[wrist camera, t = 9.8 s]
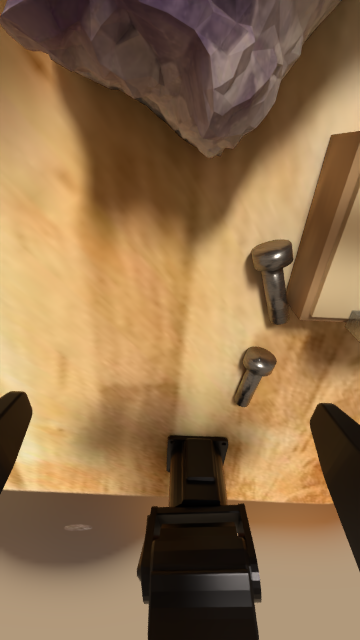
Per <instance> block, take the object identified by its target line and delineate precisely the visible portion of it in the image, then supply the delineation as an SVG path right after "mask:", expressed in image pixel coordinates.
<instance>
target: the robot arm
mask: <svg viewBox="0 0 360 640" xmlns="http://www.w3.org/2000/svg"><path fill="white" fill-rule="evenodd" d="M31 417H32V407H31V405H30V402H29V399H28V397H27V394H26V393H25V392H21V391H11V392H9V393H7V394H5V395H4V396H2V397H1V398H0V494H1V492H2V490H3V488H4V486H5V483H6V481H7V479H8V477H9V475H10V473H11V471H12V469H13V466H14V464H15V461H16V459H17V456H18V453H19V450H20V448H21V445H22V442H23V439H24V437H25V434H26V431H27V428H28V426H29V423H30V420H31ZM310 428H311V432H312V435H313V439H314V443H315V446H316V450H317V454H318V457H319V461H320V465H321V469H322V472H323V475H324V478H325V481H326V484H327V487H328V489H329V492H330V495H331V497H332V500H333V502H334V505H335V508H336V510H337V513H338V516H339V518H340V521H341V523H342V526H343V529H344V531H345V534H346V537H347V539H348V542H349V544H350V547H351V550H352V552H353V555H354V558H355V560H356V563H357V565H358V568H359V571H360V425H359V424H358V423H357V422H355V421H354V420H353V419H352V418H351V417H349V416H348V415H347V414H346V413H344V412H343V411H342V410H341V409H339V408H338V407H337V406H336V405H334V404H331V403H319V404H318V405H317V407H316V409H315V411H314V413H313V415H312V417H311V419H310ZM227 448H228V439H227V438H220V437H193V436H169V437H168V447H167V472H170V488H169V507H157V506H154V507H152V508H151V514H150V515H148V516H147V526H146V534H145V541H144V544H143V548H142V552H141V556H140V560H139V564H138V568H137V576H138V578H139V580H140V581H141V586H142V596H143V602H144V604H149V617H148V640H259V635H258V627H257V621H256V612H255V605H254V603H256V602H257V603H258V602H261V586H260V577H259V570H258V564H257V559H256V554H255V549H254V544H253V541H252V536H251V531H250V527H249V523H248V518H247V514H246V510H245V505H244V503H243V504H238V505H228V502H227V494H226V486H225V479H224V471H223V464H224V460H225V456H226V452H227ZM237 533H238V536H237Z"/></svg>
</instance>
